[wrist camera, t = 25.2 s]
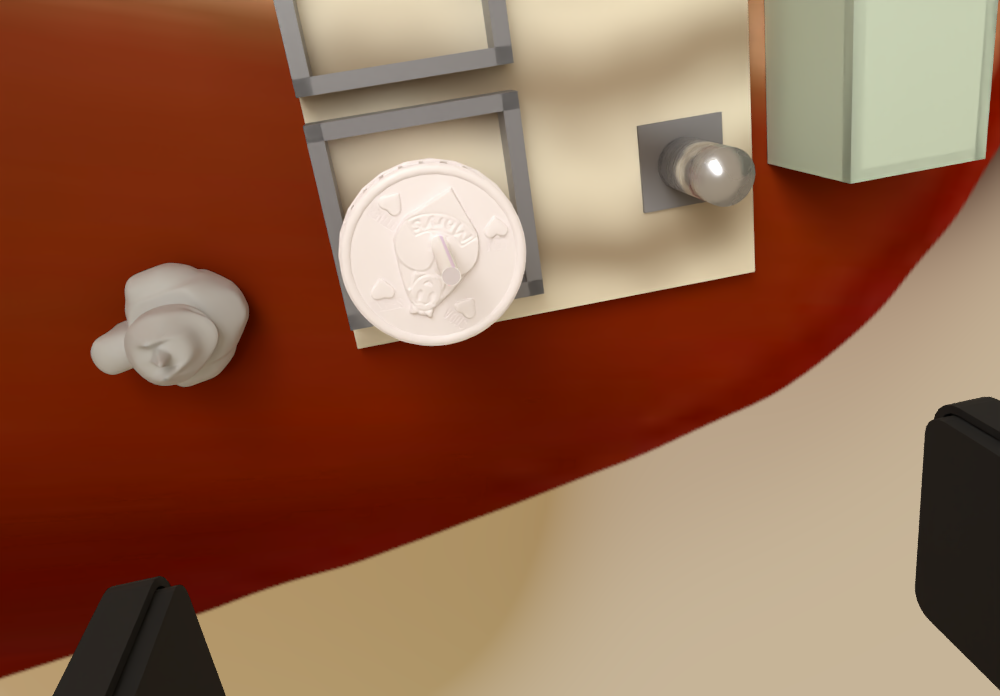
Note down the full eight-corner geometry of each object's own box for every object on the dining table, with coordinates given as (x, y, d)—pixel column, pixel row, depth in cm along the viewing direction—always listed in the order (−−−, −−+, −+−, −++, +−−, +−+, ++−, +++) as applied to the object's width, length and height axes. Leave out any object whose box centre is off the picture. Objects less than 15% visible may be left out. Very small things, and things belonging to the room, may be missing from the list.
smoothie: (503, 155, 34) (584, 210, 21) (469, 290, 36) (524, 415, 23) (361, 119, 33) (355, 154, 20) (333, 261, 35) (311, 378, 22)
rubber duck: (276, 338, 37) (252, 406, 29) (145, 385, 37) (89, 467, 29) (226, 233, 35) (187, 279, 27) (87, 283, 35) (10, 342, 27)
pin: (654, 141, 35) (697, 152, 31) (704, 132, 35) (754, 142, 31) (658, 192, 36) (700, 211, 31) (706, 184, 36) (755, 201, 32)
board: (235, -187, 29) (229, -199, 28) (728, -249, 31) (743, -262, 30) (358, 340, 37) (357, 350, 36) (743, 265, 39) (756, 272, 38)
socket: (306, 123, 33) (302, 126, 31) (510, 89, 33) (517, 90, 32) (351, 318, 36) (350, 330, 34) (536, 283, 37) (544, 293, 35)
